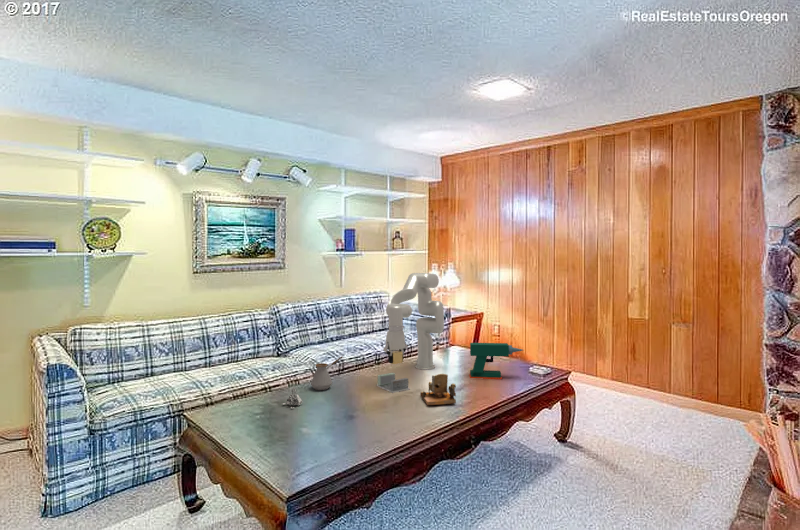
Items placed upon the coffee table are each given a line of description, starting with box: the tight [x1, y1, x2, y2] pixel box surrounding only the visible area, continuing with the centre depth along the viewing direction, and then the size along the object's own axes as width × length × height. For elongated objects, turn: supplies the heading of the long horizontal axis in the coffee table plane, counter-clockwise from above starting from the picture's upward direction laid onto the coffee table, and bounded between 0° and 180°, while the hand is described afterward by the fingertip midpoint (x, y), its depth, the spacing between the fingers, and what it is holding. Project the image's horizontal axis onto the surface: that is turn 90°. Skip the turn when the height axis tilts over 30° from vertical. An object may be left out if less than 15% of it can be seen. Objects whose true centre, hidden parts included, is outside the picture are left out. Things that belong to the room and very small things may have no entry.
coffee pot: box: [310, 356, 345, 391], centre depth 249 cm, size 21×12×15 cm, turn 138°
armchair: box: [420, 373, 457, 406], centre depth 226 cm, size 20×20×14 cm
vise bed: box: [376, 377, 410, 394], centre depth 246 cm, size 16×11×6 cm
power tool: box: [468, 342, 524, 380], centre depth 266 cm, size 32×7×20 cm, turn 84°
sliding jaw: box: [377, 372, 396, 385], centre depth 251 cm, size 3×10×5 cm, turn 125°
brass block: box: [390, 350, 404, 365], centre depth 243 cm, size 4×6×6 cm, turn 125°
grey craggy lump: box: [282, 387, 303, 409], centre depth 219 cm, size 9×9×8 cm
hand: (395, 361), depth 243 cm, fingers closed on brass block, 6 cm apart
